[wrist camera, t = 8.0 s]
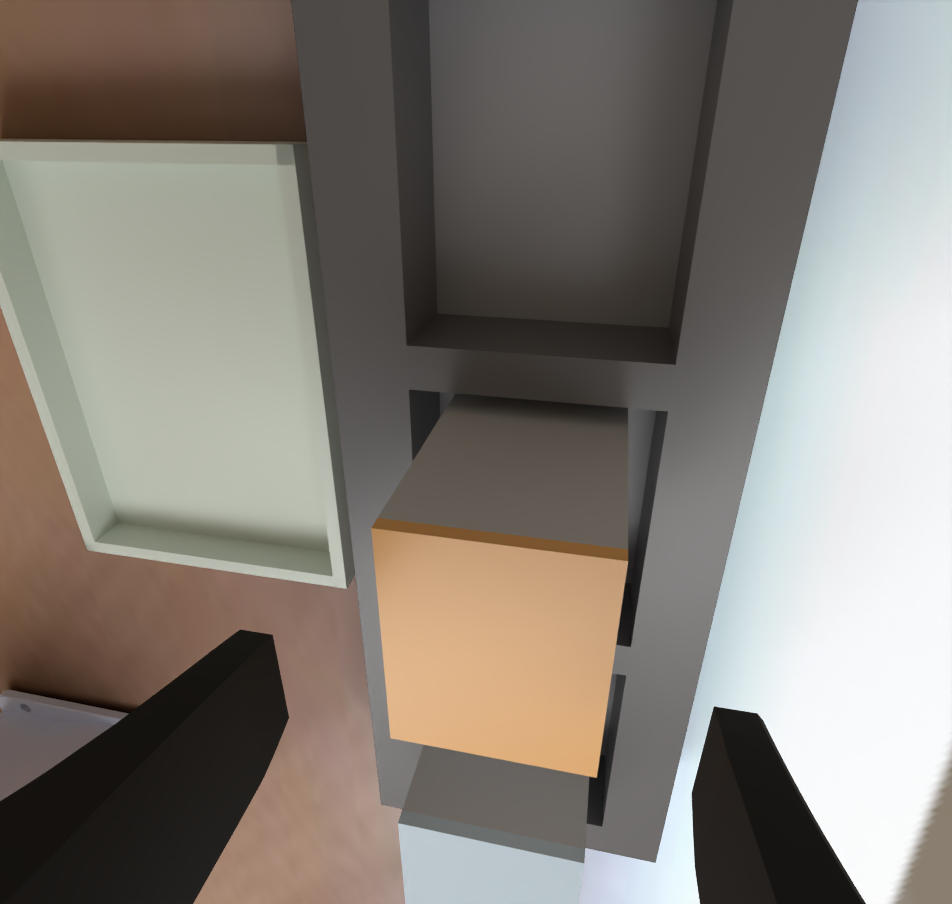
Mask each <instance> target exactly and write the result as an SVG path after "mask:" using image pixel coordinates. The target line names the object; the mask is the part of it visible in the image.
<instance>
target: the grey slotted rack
mask: <svg viewBox="0 0 952 904" xmlns="http://www.w3.org/2000/svg"><path fill="white" fill-rule="evenodd" d="M857 2H858V0H291V3H292V12H293V21H294V30H295V39H296V48H297V57H298V65H299V74H300V83H301V92H302V101H303V110H304V119H305V128H306V137H307V146H308V155H309V164H310V173H311V182H312V191H313V200H314V209H315V218H316V227H317V236H318V244H319V253H320V262H321V271H322V280H323V289H324V298H325V307H326V316H327V325H328V334H329V343H330V352H331V361H332V370H333V379H334V388H335V397H336V406H337V415H338V423H339V432H340V441H341V450H342V459H343V468H344V477H345V486H346V495H347V504H348V513H349V522H350V531H351V540H352V549H353V558H354V567H355V576H356V585H357V594H358V603H359V611H360V620H361V629H362V638H363V647H364V656H365V665H366V674H367V683H368V692H369V701H370V710H371V719H372V728H373V737H374V746H375V755H376V764H377V773H378V782H379V790H380V799H381V805H386V806H391V807H395V808H400V809H403V807H404V803H405V800H406V797H407V794H408V791H409V788H410V785H411V782H412V779H413V776H414V773H415V770H416V767H417V764H418V760H419V757H420V754H421V751H422V748H423V744H418V743H413V742H408V741H402V740H397V739H392V738H390V728H389V717H388V706H387V695H386V684H385V673H384V662H383V651H382V640H381V629H380V618H379V607H378V596H377V586H376V575H375V564H374V553H373V542H372V531H371V528H372V526H373V525H374V523H375V521H376V520H377V518H378V517H379V515H380V513H381V512H382V510H383V508H384V507H385V505H386V504H387V502H388V500H389V499H390V497H391V496H392V494H393V492H394V491H395V489H396V488H397V486H398V484H399V483H400V481H401V480H402V478H403V476H404V475H405V473H406V472H407V470H408V468H409V467H410V465H411V464H412V462H413V460H414V459H415V457H416V456H417V454H418V452H419V451H420V449H421V448H422V446H423V444H424V443H425V441H426V439H427V438H428V436H429V435H430V433H431V431H432V430H433V428H434V427H435V425H436V423H437V422H438V420H439V419H440V417H441V415H442V414H443V412H444V411H445V409H446V407H447V406H448V404H449V403H450V401H451V399H452V398H453V396H454V395H455V393H456V394H468V395H480V396H491V397H503V398H515V399H527V400H539V401H550V402H562V403H574V404H586V405H597V406H609V407H621V408H628V566H627V573H626V579H625V586H624V593H623V600H622V607H621V614H620V621H619V628H618V635H617V642H616V648H615V655H614V662H613V669H612V676H611V683H610V690H609V697H608V704H607V711H606V717H605V724H604V731H603V738H602V745H601V752H600V759H599V766H598V773H597V778H595V777H590V776H589V791H588V807H587V824H586V841H585V848H589V849H593V850H598V851H603V852H607V853H612V854H617V855H622V856H626V857H631V858H636V859H640V860H645V861H650V862H656V858H657V854H658V850H659V845H660V841H661V837H662V833H663V828H664V824H665V820H666V816H667V811H668V807H669V803H670V799H671V794H672V790H673V786H674V781H675V777H676V773H677V769H678V764H679V760H680V756H681V752H682V747H683V743H684V739H685V735H686V730H687V726H688V722H689V718H690V713H691V709H692V705H693V701H694V696H695V692H696V688H697V684H698V679H699V675H700V671H701V667H702V662H703V658H704V654H705V650H706V645H707V641H708V637H709V632H710V628H711V624H712V620H713V615H714V611H715V607H716V603H717V598H718V594H719V590H720V586H721V581H722V577H723V573H724V569H725V564H726V560H727V556H728V552H729V547H730V543H731V539H732V535H733V530H734V526H735V522H736V518H737V513H738V509H739V505H740V501H741V496H742V492H743V488H744V483H745V479H746V475H747V471H748V466H749V462H750V458H751V454H752V449H753V445H754V441H755V437H756V432H757V428H758V424H759V420H760V415H761V411H762V407H763V403H764V398H765V394H766V390H767V386H768V381H769V377H770V373H771V369H772V364H773V360H774V356H775V352H776V347H777V343H778V339H779V334H780V330H781V326H782V322H783V317H784V313H785V309H786V305H787V300H788V296H789V292H790V288H791V283H792V279H793V275H794V271H795V266H796V262H797V258H798V254H799V249H800V245H801V241H802V237H803V232H804V228H805V224H806V220H807V215H808V211H809V207H810V203H811V198H812V194H813V190H814V185H815V181H816V177H817V173H818V168H819V164H820V160H821V156H822V151H823V147H824V143H825V139H826V134H827V130H828V126H829V122H830V117H831V113H832V109H833V105H834V100H835V96H836V92H837V88H838V83H839V79H840V75H841V71H842V66H843V62H844V58H845V54H846V49H847V45H848V41H849V36H850V32H851V28H852V24H853V19H854V15H855V11H856V7H857Z"/></svg>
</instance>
